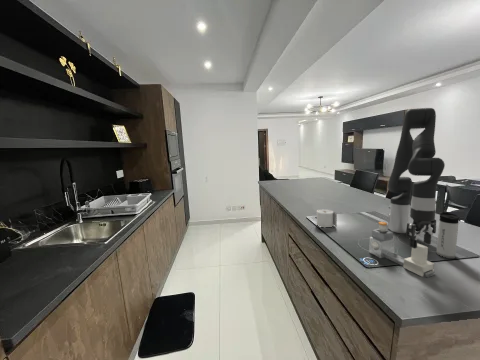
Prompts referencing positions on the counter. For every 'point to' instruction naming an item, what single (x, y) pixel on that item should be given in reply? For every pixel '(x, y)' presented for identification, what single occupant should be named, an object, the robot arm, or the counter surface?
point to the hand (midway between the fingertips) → (420, 245)
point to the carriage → (418, 261)
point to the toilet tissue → (326, 218)
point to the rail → (400, 261)
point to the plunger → (382, 227)
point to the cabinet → (381, 243)
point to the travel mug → (447, 235)
